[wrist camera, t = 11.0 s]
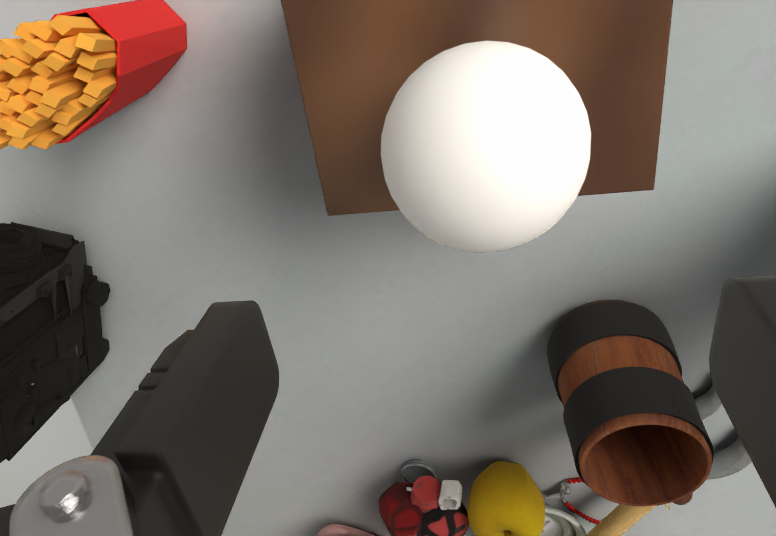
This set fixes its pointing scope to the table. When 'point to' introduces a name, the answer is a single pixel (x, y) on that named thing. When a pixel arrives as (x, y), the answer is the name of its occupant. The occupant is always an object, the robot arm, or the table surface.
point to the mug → (628, 405)
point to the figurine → (341, 531)
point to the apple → (505, 502)
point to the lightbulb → (486, 146)
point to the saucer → (560, 524)
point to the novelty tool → (723, 465)
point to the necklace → (567, 491)
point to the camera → (44, 328)
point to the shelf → (467, 25)
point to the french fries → (83, 69)
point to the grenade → (424, 508)
